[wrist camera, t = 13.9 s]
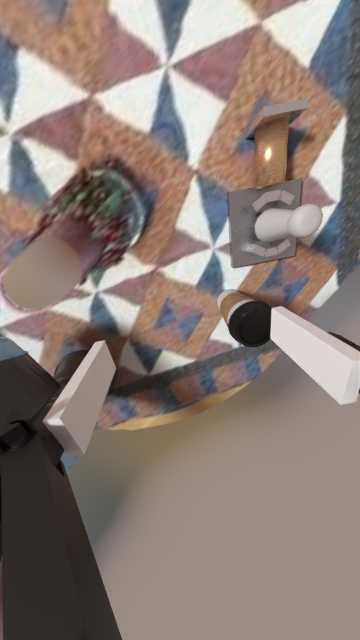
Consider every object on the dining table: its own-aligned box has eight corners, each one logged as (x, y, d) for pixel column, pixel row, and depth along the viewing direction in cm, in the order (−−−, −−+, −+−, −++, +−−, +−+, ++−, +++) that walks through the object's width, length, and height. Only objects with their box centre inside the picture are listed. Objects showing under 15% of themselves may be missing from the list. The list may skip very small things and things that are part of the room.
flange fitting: (231, 267, 41) (242, 271, 35) (223, 135, 31) (237, 112, 25) (292, 255, 41) (313, 258, 35) (303, 119, 31) (335, 92, 25)
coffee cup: (244, 280, 42) (282, 300, 29) (247, 312, 46) (282, 343, 32) (209, 288, 42) (230, 312, 29) (214, 320, 46) (235, 355, 32)
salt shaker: (269, 245, 38) (315, 249, 27) (245, 236, 37) (282, 236, 26) (283, 215, 36) (340, 205, 25) (258, 205, 35) (305, 188, 23)
